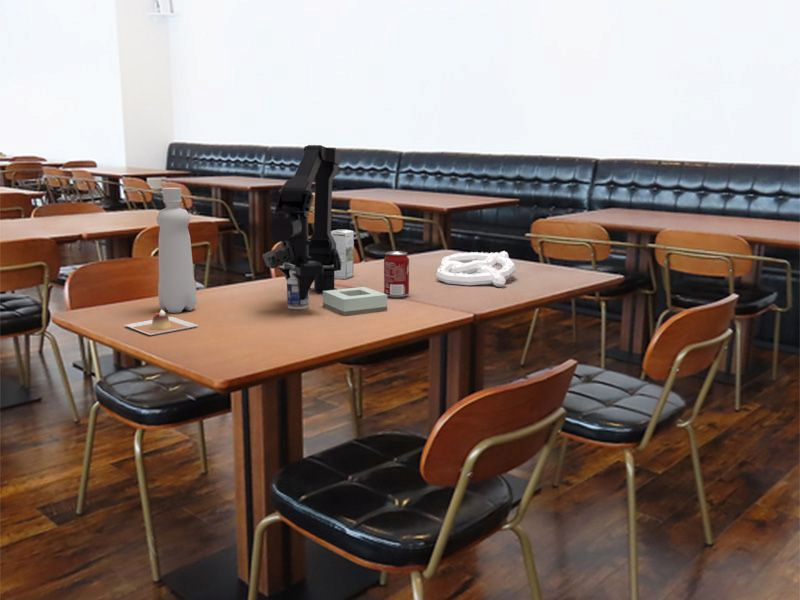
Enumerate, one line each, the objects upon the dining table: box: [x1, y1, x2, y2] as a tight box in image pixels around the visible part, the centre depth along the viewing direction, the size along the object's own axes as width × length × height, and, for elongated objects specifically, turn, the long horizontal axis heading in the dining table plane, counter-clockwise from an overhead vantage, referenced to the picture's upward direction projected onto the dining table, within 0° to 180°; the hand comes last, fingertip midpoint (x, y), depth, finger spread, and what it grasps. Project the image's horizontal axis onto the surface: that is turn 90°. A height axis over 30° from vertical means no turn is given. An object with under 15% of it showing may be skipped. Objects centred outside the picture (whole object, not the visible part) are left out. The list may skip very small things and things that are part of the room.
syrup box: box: [331, 229, 355, 280], centre depth 236 cm, size 6×6×14 cm
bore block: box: [322, 286, 388, 317], centre depth 195 cm, size 12×12×4 cm
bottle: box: [155, 187, 198, 314], centre depth 189 cm, size 9×9×30 cm
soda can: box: [383, 250, 410, 299], centre depth 209 cm, size 7×7×12 cm
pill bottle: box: [286, 269, 310, 310], centre depth 195 cm, size 5×5×10 cm
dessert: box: [123, 308, 199, 336], centre depth 174 cm, size 12×12×5 cm
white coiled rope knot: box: [435, 250, 517, 288], centre depth 237 cm, size 28×24×6 cm
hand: (297, 297), depth 195 cm, fingers closed on pill bottle, 5 cm apart
